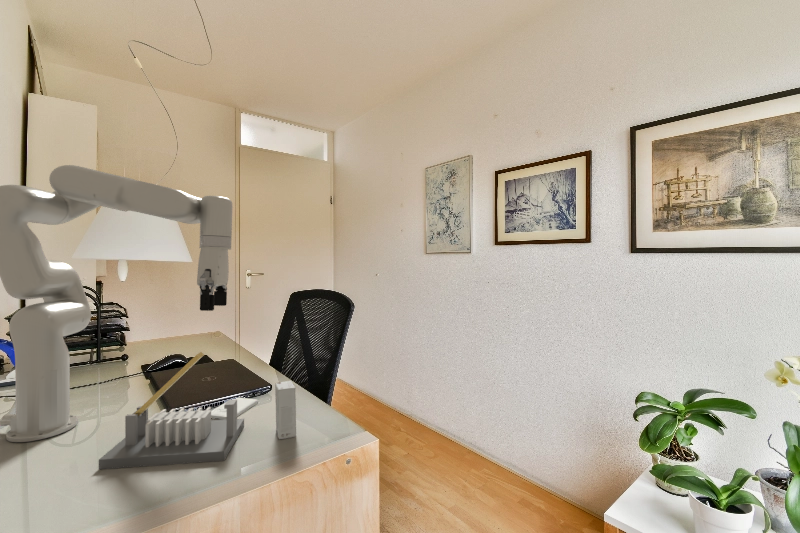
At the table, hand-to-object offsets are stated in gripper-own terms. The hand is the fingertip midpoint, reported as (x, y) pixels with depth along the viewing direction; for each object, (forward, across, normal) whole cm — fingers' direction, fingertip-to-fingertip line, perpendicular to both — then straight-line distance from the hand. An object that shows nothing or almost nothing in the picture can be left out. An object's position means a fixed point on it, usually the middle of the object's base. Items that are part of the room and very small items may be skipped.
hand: (213, 307), depth 96 cm
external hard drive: (+31, -6, +4) cm, 32 cm away
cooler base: (+30, +13, -2) cm, 33 cm away
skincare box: (+30, +10, +21) cm, 38 cm away
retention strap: (+17, +13, -5) cm, 22 cm away
